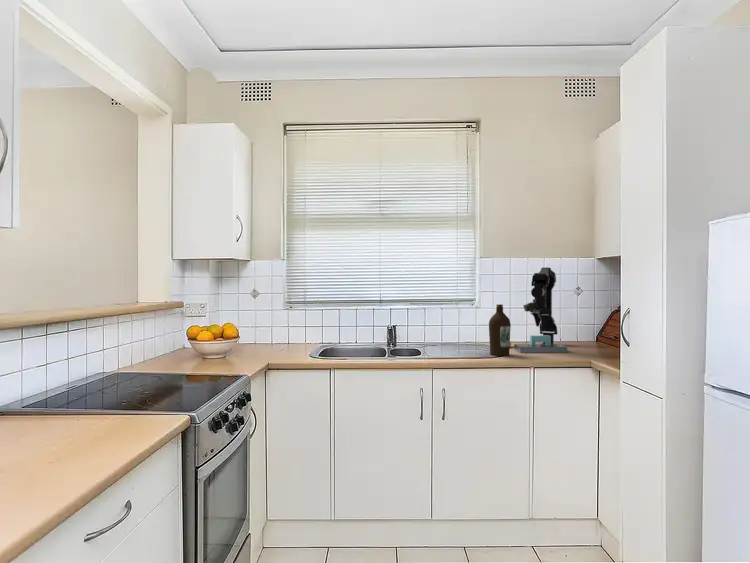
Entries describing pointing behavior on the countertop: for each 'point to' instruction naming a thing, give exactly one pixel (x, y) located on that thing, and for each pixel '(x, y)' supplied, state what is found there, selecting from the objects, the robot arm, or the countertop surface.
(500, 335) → the olive oil
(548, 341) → the clip
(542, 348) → the rail plate
